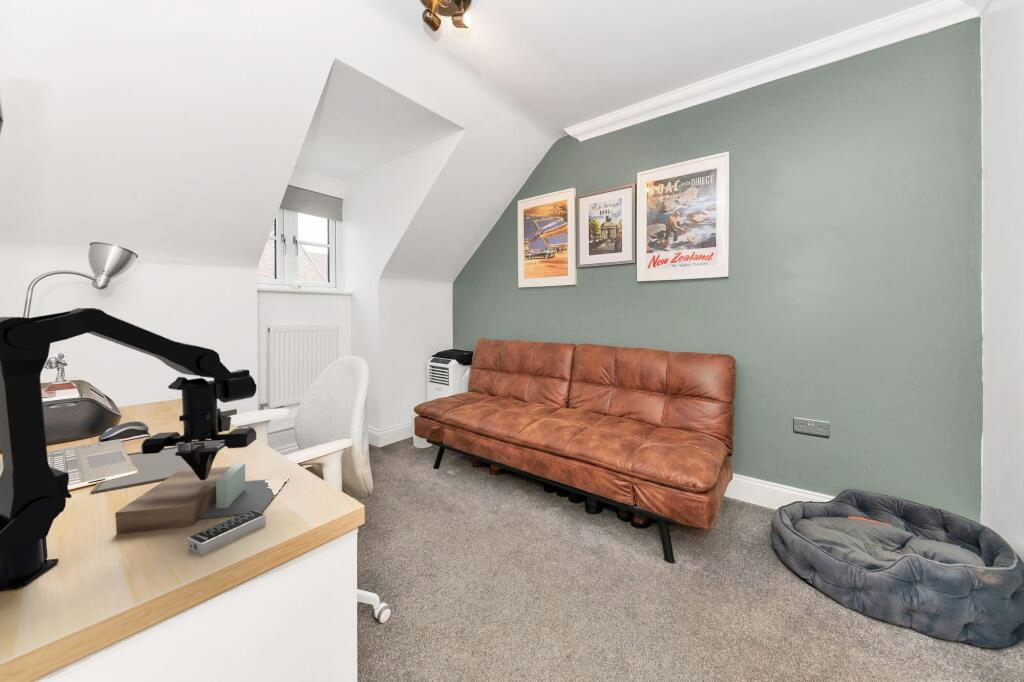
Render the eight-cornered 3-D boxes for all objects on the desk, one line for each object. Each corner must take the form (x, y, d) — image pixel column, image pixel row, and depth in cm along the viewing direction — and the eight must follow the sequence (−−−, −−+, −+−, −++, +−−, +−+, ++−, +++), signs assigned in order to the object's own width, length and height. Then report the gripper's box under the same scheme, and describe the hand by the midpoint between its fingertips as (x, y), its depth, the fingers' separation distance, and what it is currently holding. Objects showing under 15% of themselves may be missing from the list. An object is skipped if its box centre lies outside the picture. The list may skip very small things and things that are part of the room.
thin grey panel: (119, 458, 110) (91, 496, 88) (119, 454, 110) (90, 491, 88) (205, 445, 122) (200, 475, 99) (205, 442, 121) (200, 471, 99)
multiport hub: (266, 525, 76) (266, 514, 75) (201, 557, 66) (200, 544, 66) (252, 520, 77) (252, 509, 77) (187, 550, 68) (186, 537, 67)
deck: (192, 525, 75) (191, 505, 74) (116, 533, 72) (115, 512, 72) (239, 482, 94) (238, 465, 94) (180, 487, 91) (180, 470, 91)
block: (216, 508, 81) (227, 507, 81) (216, 480, 80) (227, 479, 81) (235, 489, 89) (245, 488, 90) (235, 463, 89) (245, 463, 90)
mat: (262, 513, 80) (262, 511, 80) (199, 519, 77) (199, 517, 77) (289, 478, 96) (289, 477, 96) (238, 483, 94) (238, 481, 94)
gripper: (264, 397, 92) (266, 462, 94) (171, 401, 88) (175, 468, 89) (244, 408, 82) (247, 481, 83) (137, 413, 77) (141, 490, 78)
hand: (203, 479), depth 84 cm, fingers closed
